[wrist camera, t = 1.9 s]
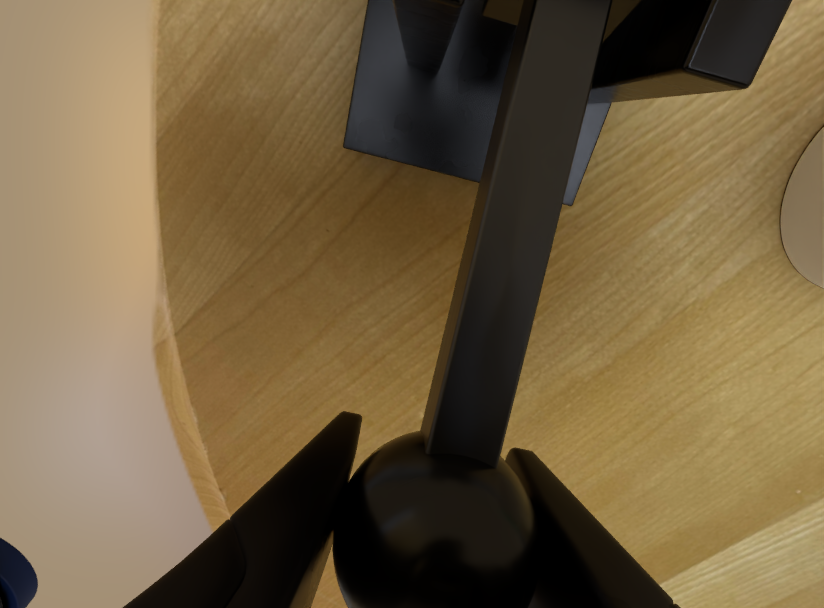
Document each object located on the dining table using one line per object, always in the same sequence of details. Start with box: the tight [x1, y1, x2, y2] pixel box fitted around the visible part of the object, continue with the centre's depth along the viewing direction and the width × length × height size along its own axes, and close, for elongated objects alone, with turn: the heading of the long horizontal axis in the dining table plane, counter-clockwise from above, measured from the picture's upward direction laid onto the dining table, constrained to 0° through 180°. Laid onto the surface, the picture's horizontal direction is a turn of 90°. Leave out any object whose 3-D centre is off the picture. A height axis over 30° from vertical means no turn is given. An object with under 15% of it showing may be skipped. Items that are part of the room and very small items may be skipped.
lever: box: [333, 0, 643, 608], centre depth 7 cm, size 13×3×3 cm, turn 166°
